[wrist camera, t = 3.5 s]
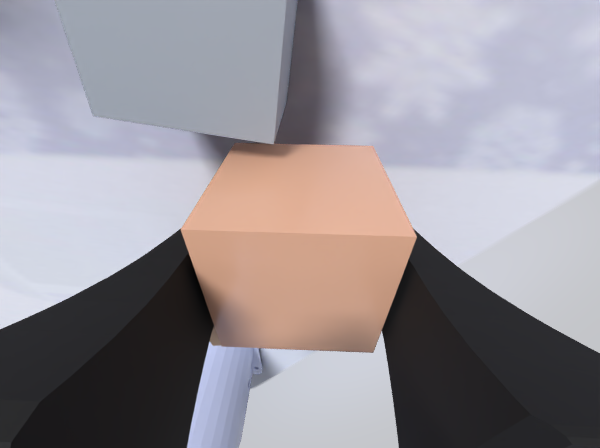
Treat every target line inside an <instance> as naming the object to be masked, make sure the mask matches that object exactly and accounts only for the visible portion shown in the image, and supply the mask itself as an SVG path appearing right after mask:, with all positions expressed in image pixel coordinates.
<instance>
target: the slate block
mask: <svg viewBox="0 0 600 448" xmlns="http://www.w3.org/2000/svg"><path fill="white" fill-rule="evenodd" d="M54 1H55V4H56V7H57V10H58V13H59V16H60V19H61V22H62V25H63V28H64V31H65V34H66V37H67V40H68V43H69V46H70V49H71V52H72V55H73V58H74V61H75V64H76V67H77V70H78V73H79V76H80V79H81V82H82V85H83V88H84V91H85V94H86V97H87V100H88V103H89V106H90V109H91V112H92V115H93V116H95V117H101V118H108V119H114V120H121V121H127V122H133V123H140V124H146V125H152V126H159V127H165V128H171V129H178V130H184V131H191V132H197V133H203V134H210V135H216V136H222V137H229V138H235V139H242V140H248V141H254V142H261V143H267V144H273V145H274V142H275V139H276V135H277V132H278V129H279V126H280V122H281V119H282V116H283V112H284V109H285V106H286V102H287V95H288V86H289V76H290V67H291V58H292V49H293V39H294V30H295V21H296V12H297V2H298V0H54Z"/></svg>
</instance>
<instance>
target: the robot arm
mask: <svg viewBox="0 0 600 448" xmlns="http://www.w3.org/2000/svg"><path fill="white" fill-rule="evenodd" d="M413 230H414V229H413ZM414 232H415V234H416V236H417V238H416V241H415V243H414V246H413V249H412V251H411V254H410V257H409V259H408V262H407V265H406V267H405V270H404V273H403V275H402V278H401V281H400V283H399V286H398V289H397V291H396V294H395V297H394V299H393V302H392V304H391V307H390V310H389V312H388V315H387V318H386V320H385V323H384V326H383V328H382V333H383V337H384V343H385V349H386V355H387V361H388V367H389V374H390V381H391V388H392V395H393V402H394V410H395V418H396V426H397V434H398V443H399V448H600V353H598V352H596V351H594V350H592V349H590V348H588V347H586V346H585V345H583V344H581V343H579V342H577V341H575V340H574V339H571V338H570V337H568V336H566V335H564V334H562V333H561V332H559V331H557V330H555V329H553V328H551V327H550V326H548V325H546V324H544V323H543V322H541V321H539V320H537V319H536V318H534V317H532V316H531V315H529V314H527V313H526V312H524V311H522V310H521V309H519V308H517V307H516V306H514V305H513V304H511V303H509V302H508V301H506V300H505V299H503V298H501V297H500V296H498V295H497V294H495V293H493V292H492V291H491V290H489V289H487V288H486V287H485V286H483V285H482V284H481V283H479V282H478V281H476V280H475V279H474V278H472V277H471V276H469V275H468V274H466V273H465V272H464V271H462V270H461V269H460V268H459V267H457V266H456V265H455V264H454V263H452V262H451V261H450V260H449V259H447V258H446V257H445V256H444V255H442V254H441V253H440V252H439V251H438V250H436V249H435V248H434V247H433V246H432V245H431V244H430V243H428V242H427V241H426V240H425V239H424V238H423V237H422V236H421V235H420V234H419V233H417V232H416V231H415V230H414ZM213 327H214V324H213V321H212V318H211V315H210V312H209V309H208V306H207V304H206V301H205V298H204V295H203V292H202V289H201V286H200V284H199V281H198V278H197V275H196V272H195V269H194V266H193V264H192V261H191V258H190V255H189V252H188V249H187V246H186V244H185V241H184V238H183V235H182V232H181V229H180V230H178V231H177V232H176V233H175V234H173V235H172V236H170V237H169V238H168V239H166V240H165V241H164V242H162V243H161V244H159V245H158V246H157V247H155V248H154V249H152V250H151V251H150V252H148V253H147V254H145V255H144V256H142V257H141V258H139V259H138V260H136V261H135V262H133V263H131V264H130V265H128V266H126V267H125V268H123V269H121V270H120V271H118V272H116V273H115V274H113V275H111V276H110V277H108V278H106V279H104V280H102V281H100V282H98V283H97V284H95V285H93V286H91V287H89V288H87V289H85V290H83V291H81V292H80V293H78V294H76V295H74V296H72V297H70V298H68V299H66V300H64V301H62V302H60V303H58V304H56V305H54V306H51V307H49V308H47V309H45V310H43V311H41V312H39V313H36V314H34V315H32V316H30V317H28V318H25V319H23V320H21V321H19V322H16V323H14V324H12V325H9V326H7V327H5V328H3V329H0V448H238V447H239V445H240V442H241V437H242V432H243V426H244V420H245V414H246V408H247V402H248V396H249V390H250V384H251V379H252V374H261V373H262V364H261V358H260V353H259V348H245V347H222V346H221V345H220V346H213V345H212V344H211V342H210V338H211V334H212V330H213Z"/></svg>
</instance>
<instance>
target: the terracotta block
mask: <svg viewBox="0 0 600 448" xmlns="http://www.w3.org/2000/svg"><path fill="white" fill-rule="evenodd" d="M181 232H182V235H183V238H184V241H185V244H186V246H187V249H188V252H189V255H190V258H191V261H192V264H193V266H194V269H195V272H196V275H197V278H198V281H199V284H200V286H201V289H202V292H203V295H204V298H205V301H206V304H207V306H208V309H209V312H210V315H211V318H212V321H213V324H214V326H215V329H216V332H217V335H218V338H219V341H220V344H221V346H222V347H245V348H270V349H295V350H320V351H346V352H370V353H373V352H374V350H375V347H376V344H377V341H378V339H379V336H380V334H381V331H382V328H383V326H384V323H385V320H386V318H387V315H388V312H389V310H390V307H391V304H392V302H393V299H394V297H395V294H396V291H397V289H398V286H399V283H400V281H401V278H402V275H403V273H404V270H405V267H406V265H407V262H408V259H409V257H410V254H411V251H412V249H413V246H414V243H415V241H416V238H417V236H416V234H415V232H414V230H413V228H412V225H411V223H410V221H409V219H408V217H407V215H406V213H405V211H404V209H403V207H402V205H401V203H400V201H399V199H398V197H397V195H396V192H395V190H394V188H393V186H392V184H391V182H390V180H389V178H388V176H387V174H386V172H385V170H384V168H383V166H382V164H381V162H380V159H379V157H378V155H377V153H376V151H375V149H374V147H373V146H352V145H309V144H274V145H273V144H266V143H234V145H233V147H232V148H231V150H230V151H229V153H228V155H227V156H226V158H225V159H224V161H223V163H222V164H221V166H220V167H219V169H218V171H217V172H216V174H215V175H214V177H213V179H212V180H211V182H210V183H209V185H208V187H207V188H206V190H205V191H204V193H203V195H202V196H201V198H200V199H199V201H198V203H197V204H196V206H195V207H194V209H193V211H192V212H191V214H190V215H189V217H188V219H187V220H186V222H185V223H184V225H183V227H182V228H181Z"/></svg>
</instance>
